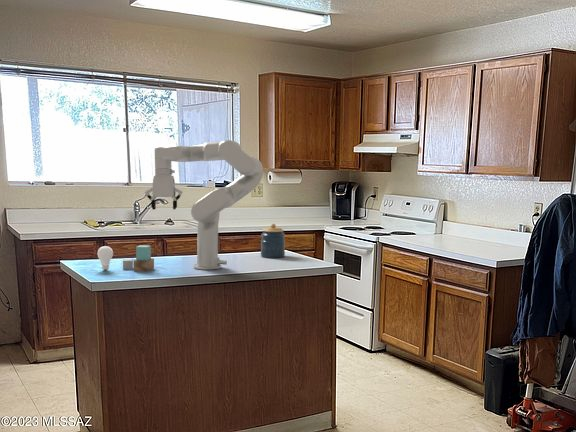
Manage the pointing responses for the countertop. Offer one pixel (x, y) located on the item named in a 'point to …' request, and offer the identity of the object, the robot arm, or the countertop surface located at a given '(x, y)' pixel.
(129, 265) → the grey cube
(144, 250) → the teal cube
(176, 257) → the countertop surface
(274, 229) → the canister
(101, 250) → the light bulb
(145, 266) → the walnut block
